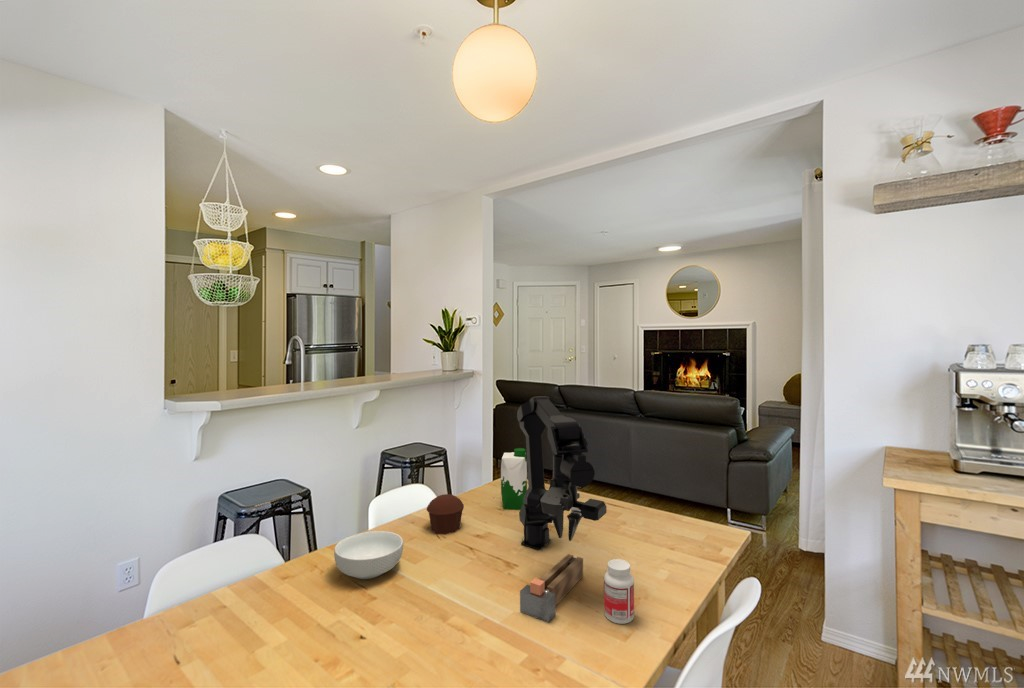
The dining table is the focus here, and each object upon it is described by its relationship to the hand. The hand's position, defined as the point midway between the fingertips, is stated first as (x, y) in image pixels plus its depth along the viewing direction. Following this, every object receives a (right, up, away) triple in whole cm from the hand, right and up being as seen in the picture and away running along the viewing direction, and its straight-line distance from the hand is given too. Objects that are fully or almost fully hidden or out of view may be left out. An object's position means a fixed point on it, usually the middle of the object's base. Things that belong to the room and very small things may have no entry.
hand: (565, 539), depth 109 cm
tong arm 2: (0, -11, -2) cm, 11 cm away
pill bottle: (+10, -11, -12) cm, 19 cm away
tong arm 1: (-2, -11, -1) cm, 11 cm away
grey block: (-7, -11, -11) cm, 17 cm away
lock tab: (-7, -7, -11) cm, 15 cm away
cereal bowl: (-49, -12, +7) cm, 51 cm away
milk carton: (-12, -11, +51) cm, 54 cm away
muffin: (-33, -11, +33) cm, 48 cm away
